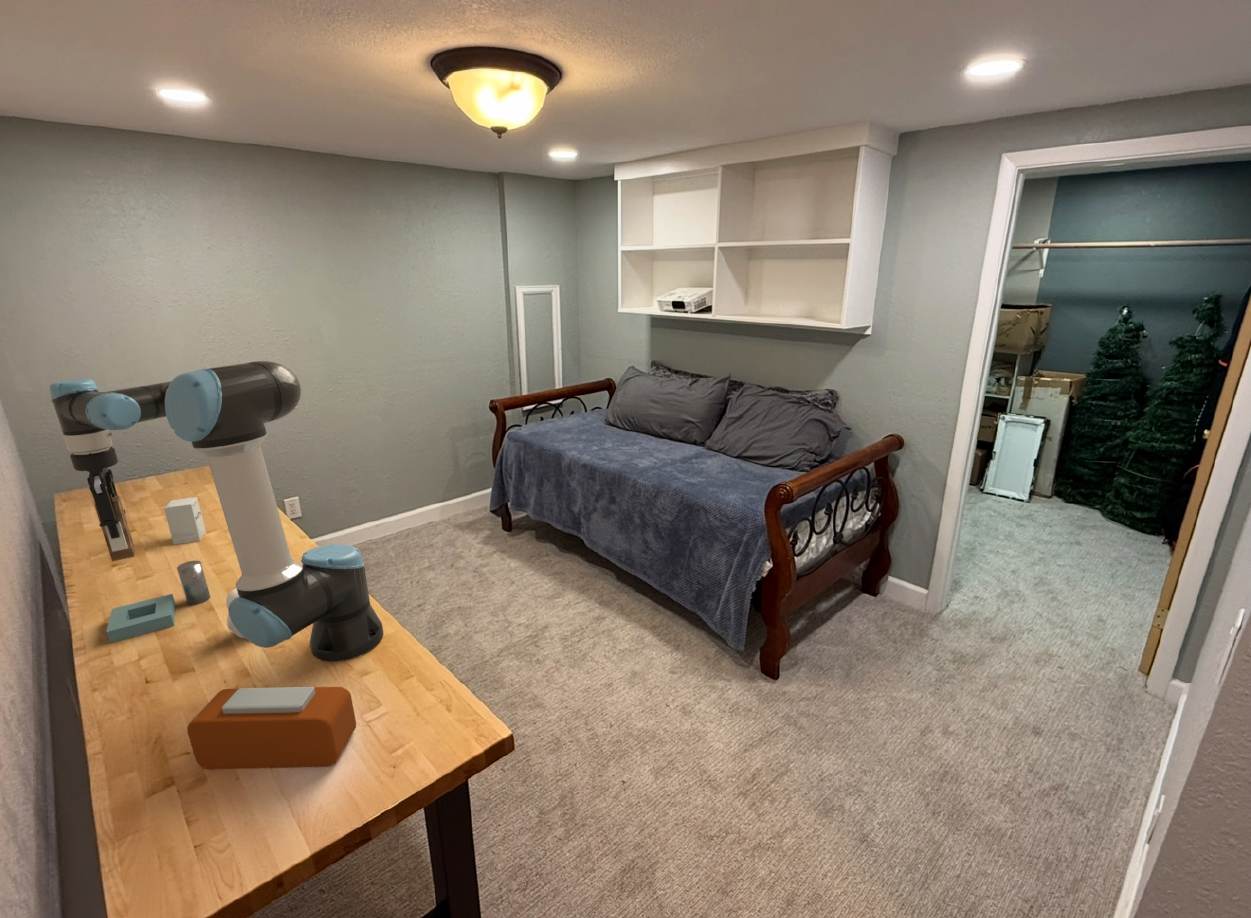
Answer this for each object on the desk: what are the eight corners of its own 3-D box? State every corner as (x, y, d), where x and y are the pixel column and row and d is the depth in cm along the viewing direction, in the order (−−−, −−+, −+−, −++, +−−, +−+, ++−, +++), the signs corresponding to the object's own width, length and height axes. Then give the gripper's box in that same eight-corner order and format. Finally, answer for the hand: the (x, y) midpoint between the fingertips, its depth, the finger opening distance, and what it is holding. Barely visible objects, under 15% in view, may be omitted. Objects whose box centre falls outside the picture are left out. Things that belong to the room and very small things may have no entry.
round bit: (211, 600, 153) (201, 566, 150) (187, 606, 150) (177, 572, 147) (209, 591, 157) (200, 558, 154) (186, 598, 154) (176, 564, 151)
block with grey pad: (358, 731, 109) (349, 679, 105) (338, 767, 101) (327, 713, 98) (228, 733, 109) (214, 682, 105) (197, 770, 101) (181, 716, 97)
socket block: (174, 625, 142) (171, 614, 142) (109, 643, 136) (106, 631, 135) (175, 603, 152) (172, 593, 151) (115, 619, 145) (111, 608, 144)
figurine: (228, 643, 135) (216, 597, 132) (239, 625, 142) (228, 580, 139) (262, 638, 137) (252, 592, 133) (272, 620, 144) (262, 576, 140)
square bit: (134, 556, 138) (117, 500, 134) (112, 561, 136) (94, 504, 131) (135, 550, 141) (119, 495, 137) (113, 554, 139) (96, 499, 134)
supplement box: (200, 541, 187) (191, 504, 184) (172, 545, 185) (162, 507, 181) (206, 532, 194) (197, 496, 190) (180, 535, 191) (170, 499, 188)
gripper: (109, 456, 126) (138, 555, 133) (117, 438, 139) (143, 529, 146) (62, 462, 122) (95, 564, 129) (75, 444, 135) (104, 537, 142)
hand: (121, 545), depth 138 cm, fingers closed on square bit, 4 cm apart
